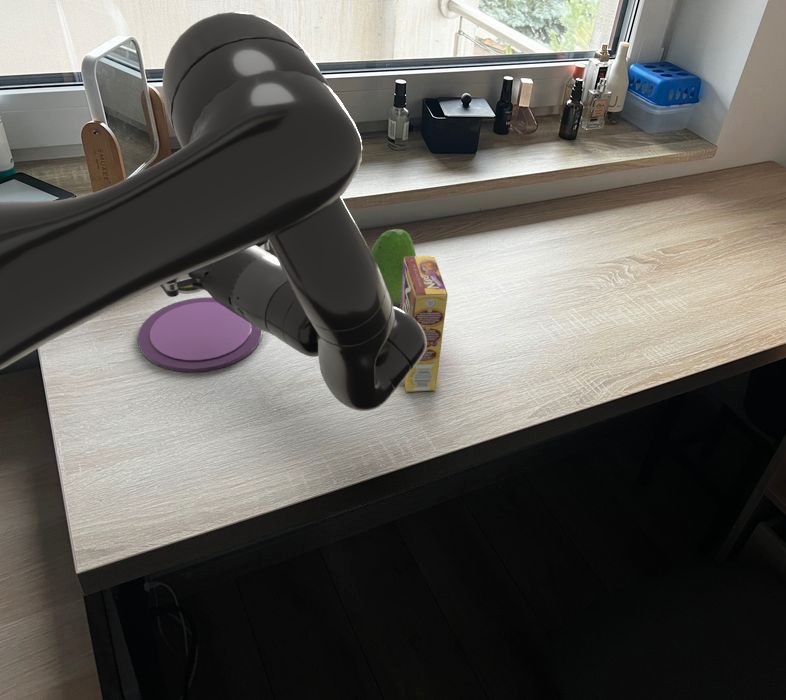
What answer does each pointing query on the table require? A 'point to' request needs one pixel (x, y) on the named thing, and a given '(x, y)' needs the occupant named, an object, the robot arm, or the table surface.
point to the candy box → (424, 316)
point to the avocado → (393, 259)
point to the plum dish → (197, 336)
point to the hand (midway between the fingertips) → (168, 232)
